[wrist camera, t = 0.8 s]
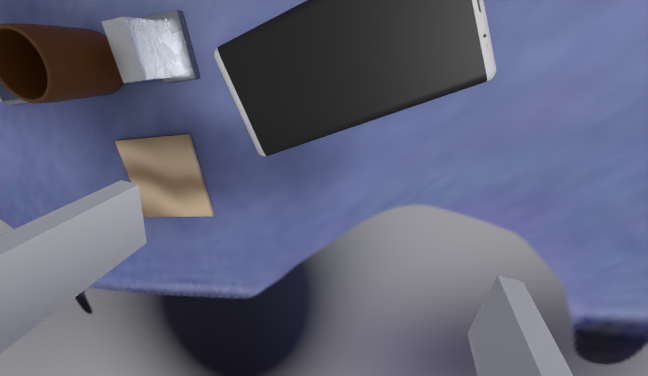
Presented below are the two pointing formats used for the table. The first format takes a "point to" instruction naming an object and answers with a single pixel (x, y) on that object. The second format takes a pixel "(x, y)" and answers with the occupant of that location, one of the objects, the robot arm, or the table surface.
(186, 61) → the grey angular pieces
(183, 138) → the coaster
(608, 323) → the table surface
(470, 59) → the smartphone
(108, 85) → the mug
